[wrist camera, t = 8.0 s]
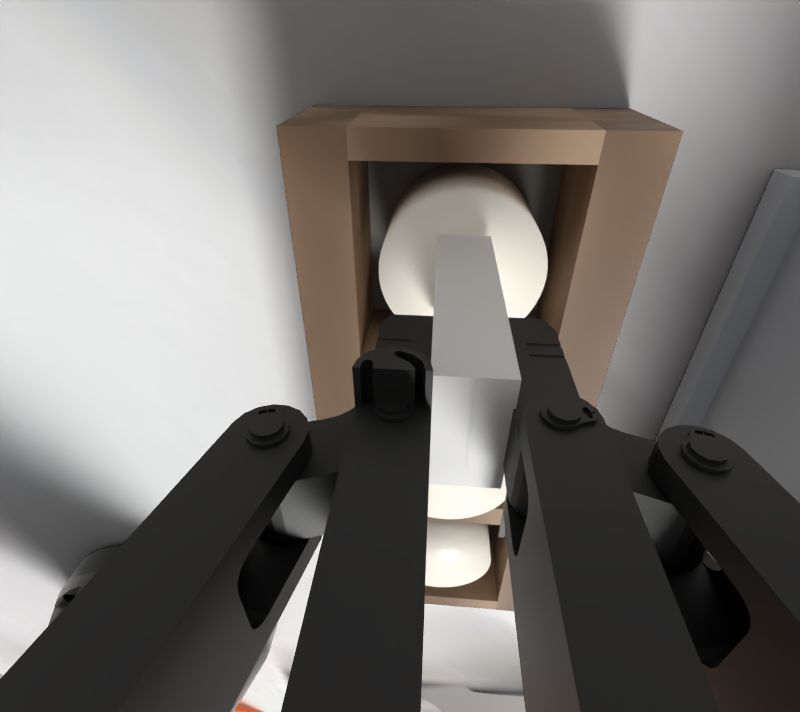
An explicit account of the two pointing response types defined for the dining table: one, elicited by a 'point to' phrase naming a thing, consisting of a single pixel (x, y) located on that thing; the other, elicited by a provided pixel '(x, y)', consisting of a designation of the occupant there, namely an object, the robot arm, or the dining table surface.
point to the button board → (548, 202)
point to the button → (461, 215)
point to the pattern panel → (754, 343)
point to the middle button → (463, 500)
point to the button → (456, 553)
